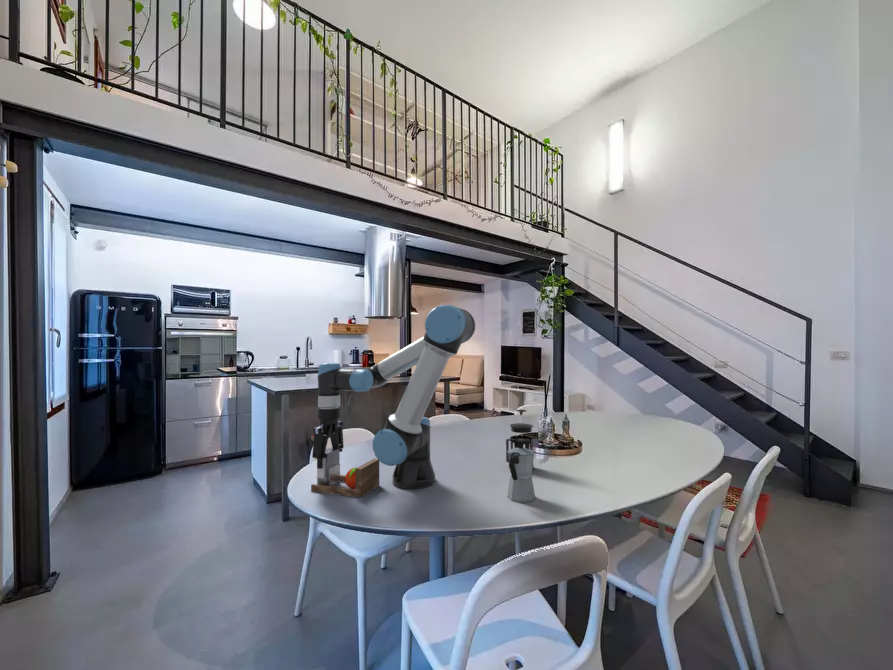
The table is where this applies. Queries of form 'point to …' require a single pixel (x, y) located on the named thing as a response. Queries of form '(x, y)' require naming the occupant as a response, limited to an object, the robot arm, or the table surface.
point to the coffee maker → (521, 474)
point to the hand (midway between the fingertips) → (328, 473)
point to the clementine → (351, 478)
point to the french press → (520, 429)
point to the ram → (331, 468)
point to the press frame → (356, 481)
